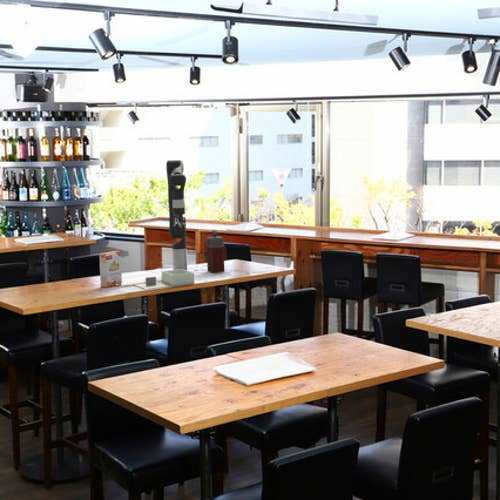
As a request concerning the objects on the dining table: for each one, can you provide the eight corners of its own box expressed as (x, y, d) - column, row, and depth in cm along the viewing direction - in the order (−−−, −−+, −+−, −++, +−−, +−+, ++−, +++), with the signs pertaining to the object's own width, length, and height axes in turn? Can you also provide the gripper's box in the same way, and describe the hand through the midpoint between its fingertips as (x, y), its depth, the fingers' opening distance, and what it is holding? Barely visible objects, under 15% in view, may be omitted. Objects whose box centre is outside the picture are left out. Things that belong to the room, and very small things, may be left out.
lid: (134, 286, 526) (133, 276, 525) (156, 283, 533) (156, 274, 532) (145, 290, 510) (145, 280, 509) (168, 288, 517) (168, 278, 516)
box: (162, 282, 534) (161, 271, 533) (182, 279, 541) (181, 269, 540) (173, 286, 519) (173, 275, 518) (194, 283, 525) (193, 272, 524)
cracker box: (107, 287, 520) (105, 254, 518) (100, 287, 524) (98, 253, 521) (122, 284, 532) (121, 251, 529) (115, 283, 535) (113, 250, 533)
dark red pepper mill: (227, 271, 569) (226, 229, 565) (212, 273, 564) (210, 231, 560) (222, 269, 577) (221, 228, 573) (207, 271, 572) (205, 230, 568)
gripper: (168, 206, 530) (169, 232, 532) (177, 208, 518) (178, 234, 520) (179, 205, 534) (180, 231, 536) (188, 207, 521) (190, 233, 523)
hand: (179, 232), depth 528 cm, fingers open, 8 cm apart
